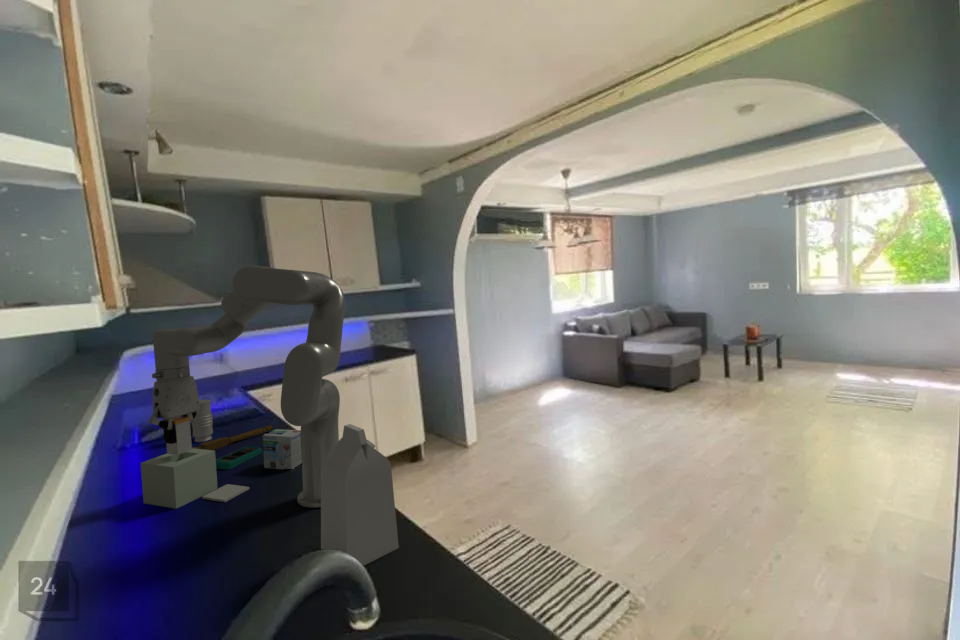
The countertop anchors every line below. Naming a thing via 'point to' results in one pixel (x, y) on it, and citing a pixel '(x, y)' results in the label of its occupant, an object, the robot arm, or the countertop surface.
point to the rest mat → (225, 493)
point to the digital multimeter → (237, 457)
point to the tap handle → (231, 439)
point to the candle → (203, 422)
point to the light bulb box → (282, 449)
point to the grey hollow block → (178, 477)
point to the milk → (357, 499)
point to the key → (180, 436)
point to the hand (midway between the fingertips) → (178, 439)
